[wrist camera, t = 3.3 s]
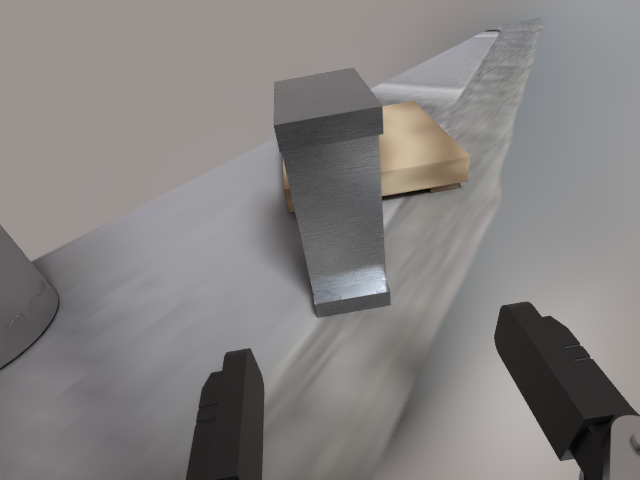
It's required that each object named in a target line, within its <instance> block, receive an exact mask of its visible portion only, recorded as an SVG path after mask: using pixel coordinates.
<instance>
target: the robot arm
mask: <svg viewBox="0 0 640 480" xmlns="http://www.w3.org/2000/svg"><path fill="white" fill-rule="evenodd" d="M57 306H58V296H57V294H56V292H55V291H54V290H53V288H52V287H51V286H50V285H49V284H48V282H47V281H46V280H45V279H44V277H43V276H42V275H41V274H40V273H39V271H38V270H37V269H36V268H35V267H34V265H33V264H32V263H31V262H30V260H29V259H28V258H27V257H26V256H25V254H24V253H23V252H22V250H21V249H20V248H19V247H18V246H17V244H16V243H15V242H14V241H13V239H12V238H11V237H10V236H9V235H8V234H7V232H6V231H5V230H4V229H3V227H2V226H1V225H0V368H1V367H2V366H4V365H5V364H7V363H8V362H10V361H11V360H13V359H14V358H15V357H17V356H18V355H19V354H20V353H22V352H23V351H24V350H25V349H26V348H28V347H29V346H30V345H31V344H32V343H33V342H34V341H35V340H36V339H37V338H38V337H39V336H40V335H41V334H42V333H43V331H44V330H45V329H46V327H47V326H48V325H49V323H50V322H51V320H52V319H53V317H54V315H55V313H56V311H57ZM494 339H495V345H496V348H497V351H498V353H499V355H500V357H501V359H502V361H503V362H504V364H505V366H506V368H507V369H508V371H509V373H510V375H511V376H512V378H513V380H514V382H515V383H516V385H517V387H518V389H519V390H520V392H521V394H522V396H523V397H524V399H525V401H526V402H527V404H528V406H529V408H530V409H531V411H532V413H533V415H534V416H535V418H536V420H537V422H538V423H539V425H540V427H541V428H542V430H543V432H544V434H545V436H546V437H547V439H548V441H549V442H550V444H551V446H552V448H553V449H554V451H555V453H556V455H557V456H558V458H559V460H560V461H563V460H570V459H575V460H576V462H577V463H578V465H579V467H580V469H581V470H580V475H579V480H640V415H639V414H638V413H637V412H635V410H634V409H633V408H632V407H631V406H630V405H629V403H628V402H627V401H626V400H625V399H624V397H623V396H622V395H621V394H620V392H619V391H618V390H617V389H616V387H615V386H614V385H613V384H612V382H611V381H610V380H609V379H608V378H607V376H606V375H605V374H604V373H603V371H602V370H601V369H600V368H599V366H598V365H597V364H596V363H595V361H594V360H593V359H591V358H590V355H589V354H588V353H587V351H586V350H585V349H584V348H583V347H582V346H580V343H579V342H578V340H577V339H576V338H575V337H574V335H573V334H572V333H571V332H570V330H569V329H568V328H567V327H566V326H564V325H563V324H561V323H560V322H558V321H557V320H555V319H554V318H553V317H551V316H546V317H541V315H540V314H539V313H538V311H537V310H536V309H535V307H534V306H533V305H532V304H531V303H529V302H521V303H515V304H510V305H503V306H502V307H501V309H500V313H499V317H498V322H497V326H496V331H495V335H494ZM263 420H264V383H263V378H262V374H261V372H260V369H259V367H258V365H257V362H256V360H255V358H254V355H253V353H252V351H251V349H250V348H248V349H242V350H237V351H231V352H226V354H225V356H224V362H223V370H222V371H220V372H214V373H211V374H210V376H209V378H208V379H207V381H206V383H205V385H204V387H203V388H202V392H201V397H200V403H199V411H198V414H197V420H196V422H197V424H196V426H195V431H194V437H193V442H192V448H191V454H190V459H189V465H188V471H187V476H186V480H262V454H263Z"/></svg>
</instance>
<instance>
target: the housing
mask: <svg viewBox="0 0 640 480" xmlns="http://www.w3.org/2000/svg"><path fill="white" fill-rule="evenodd" d="M274 83H275V85H274V128H275V133H276V137H277V142H278V146H279V151H280V152H282V156H283V160H284V165H285V169H286V174H287V178H288V183H289V187H290V192H291V196H292V201H293V205H294V210H295V214H296V218H297V223H298V227H299V232H300V236H301V241H302V245H303V250H304V254H305V259H306V263H307V268H308V272H309V277H310V281H311V286H312V290H313V297H314V305H315V310H316V314H317V318H319V317H325V316H331V315H336V314H342V313H348V312H354V311H360V310H365V309H371V308H377V307H383V306H389V305H391V303H390V290H389V287H388V284H387V281H386V270H385V250H384V230H383V209H382V189H381V169H380V148H379V135H381V134H384V132H383V108H382V105H381V103H380V102H379V101H378V99H377V98H376V97H375V95H374V94H373V93H372V91H371V90H370V89H369V87H368V86H367V85H366V83H365V82H364V81H363V80H362V78H361V77H360V76H359V74H358V73H357V72H356V70H355V69H354V68H349V69H344V70H338V71H333V72H327V73H322V74H316V75H310V76H305V77H299V78H294V79H288V80H283V81H278V82H274Z"/></svg>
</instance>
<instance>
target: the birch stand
mask: <svg viewBox="0 0 640 480" xmlns="http://www.w3.org/2000/svg"><path fill="white" fill-rule="evenodd" d="M382 108H383V132H384V134H381V135H379V148H380V169H381V189H382V196H386V195H392V194H397V193H403V192H409V191H414V190H420V189H426V188H428V189H429V191H430V192H437V191H442V190H448V189H454V188H459V183H460V182H466V181H468V174H469V165H470V156H469V155H468V154H467V153H466V152H465V151H464V150H463V149H462V148H461V147H460V146H459V145H458V144H457V143H456V142H455V141H454V140H453V139H452V138H451V137H450V136H449V135H448V134H447V133H446V132H445V131H444V130H443V129H442V128H441V127H440V126H439V125H438V124H437V123H436V122H435V121H434V120H433V119H432V118H431V117H430V116H429V115H428V114H427V113H426V112H425V111H424V110H423V109H422V108H421V107H420V106H419V105H418V104H417V103H416V102H414V101H410V102H405V103H399V104H393V105H388V106H382ZM283 176H284V192H285V196H286V200H287V205H288V209H289V212H295V210H294V205H293V201H292V196H291V192H290V187H289V183H288V178H287V174H286V169H285V165H284V160H283Z"/></svg>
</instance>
